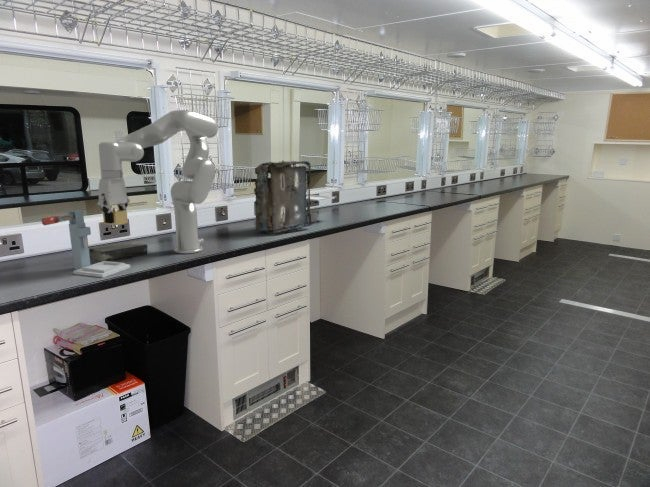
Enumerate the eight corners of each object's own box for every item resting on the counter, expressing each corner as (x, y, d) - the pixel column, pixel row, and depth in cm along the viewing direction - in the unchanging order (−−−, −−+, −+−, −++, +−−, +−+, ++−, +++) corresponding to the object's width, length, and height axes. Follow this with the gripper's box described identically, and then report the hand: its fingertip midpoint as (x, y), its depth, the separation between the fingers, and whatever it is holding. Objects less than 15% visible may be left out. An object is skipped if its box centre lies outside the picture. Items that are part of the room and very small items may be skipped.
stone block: (148, 254, 200) (147, 243, 199) (102, 263, 186) (101, 251, 185) (134, 250, 209) (133, 239, 208) (89, 258, 195) (88, 247, 194)
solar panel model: (335, 220, 280) (335, 196, 276) (318, 225, 266) (317, 199, 263) (300, 216, 296) (300, 193, 293) (283, 220, 283) (282, 196, 279)
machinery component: (264, 237, 232) (261, 163, 223) (244, 232, 245) (241, 161, 237) (312, 229, 253) (311, 161, 245) (291, 224, 267) (290, 160, 258)
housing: (115, 222, 180) (114, 206, 179) (127, 223, 178) (126, 207, 177) (103, 224, 175) (102, 208, 173) (116, 225, 173) (114, 209, 171)
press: (92, 263, 185) (85, 207, 180) (130, 267, 179) (124, 210, 174) (63, 272, 172) (55, 213, 167) (102, 277, 166) (95, 215, 161)
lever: (76, 218, 175) (75, 211, 175) (81, 218, 174) (80, 212, 174) (42, 225, 162) (41, 217, 161) (47, 225, 161) (46, 218, 160)
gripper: (121, 174, 182) (124, 218, 185) (85, 175, 166) (90, 224, 169) (136, 174, 179) (139, 219, 183) (101, 176, 163) (105, 225, 167)
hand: (115, 221), depth 176 cm, fingers closed on housing, 6 cm apart
